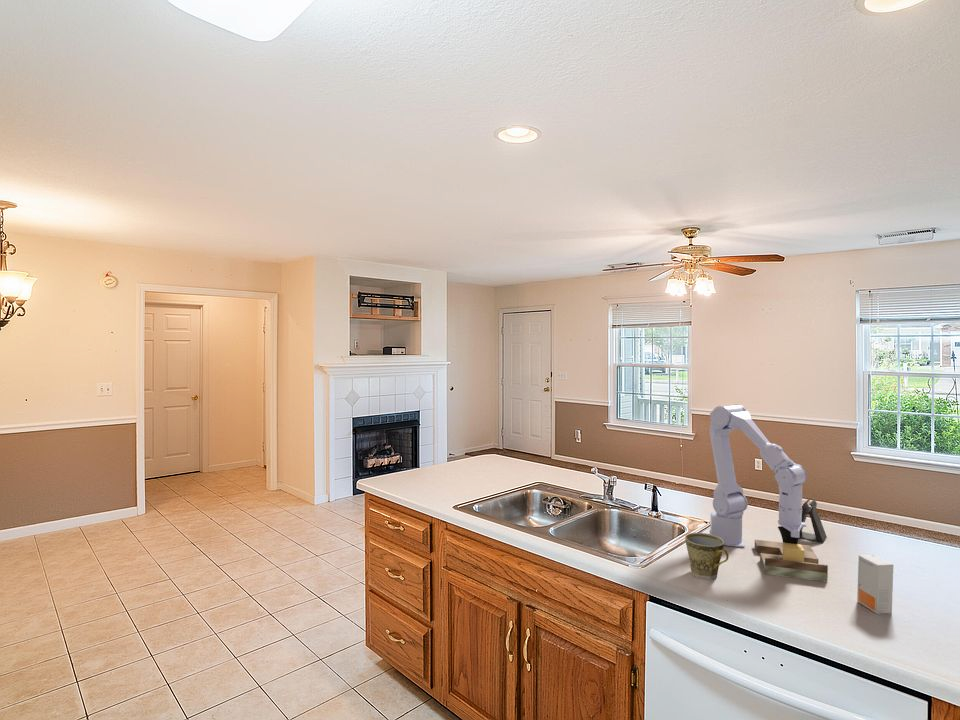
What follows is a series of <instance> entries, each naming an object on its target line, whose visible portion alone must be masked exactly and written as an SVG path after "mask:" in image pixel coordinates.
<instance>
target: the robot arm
mask: <svg viewBox="0 0 960 720" xmlns="http://www.w3.org/2000/svg"><path fill="white" fill-rule="evenodd" d="M709 418H710V425H709V430H708V431H709V438H710V443H711V449H712V455H713V456H712V457H713V460H714V461H713V462H714V468H715V473H716V474H715V475H716V479H717V485H716V487H715V488H714V490H713V491H712V493H713V499H712V508H713V509H714V511H715V512H711V513H710V524H709V526H710V529H709V534H711V535H715V536H717V537H720V538H721V539H723V540H724V546H729V547H737V548H745V546H746V545H745V543H744V540H743V516H744V512H745V511H746V510H747V508H748V505H749V504H748V499H747V497H746V496H745V493H744V489H743V488H742V487H741V486H740V485H739V484H738V483H737V478H736V477H737V476H736V472H735V465H734V461H733V460H734V459H733V454H732V447H731V443H730V437H729V434H731V433H732V431H733V430H740V431H741V432H742V433H743V434H744V435H745V436H746V437H747V438H748V439H749V440H750V441H751V442H752V443H753V444H754V445H755V446H756V447H757V448H758V449H759V456H760V457H761V459H762V460H763V461H764V462H765V463H766V464H767V466H769V468H770V469H771V471H773V473H775V474H774V479H775V481H776V482H777V484H778V490H779V491H778V520H777V523H778V526H777V529H778V531H779V533H780V535H781V538H782V543H791V544H799V540H800V539H801V536H802V532H803V531H802V532H801V530H800V529H801V528H802V527H803V528H806V527H807V523H806V522H805V523H804V522H802V511H803V508H802V506H803V484H804V483H805V482H806V481H807V479H808V475H807V474H808V473H807V471H806V470H805V468H804V466H802V465H801V464H798V463H795V462H794V460H793V459H790V457H789V456H788V455H787V453H785V452H784V450H783V449H784V448H782V446H781V445H778V444H777V443H771V442H770V441H769V439H767V437H766V436H765V435H764V433H763V432H762V431H761V430H760V428H759V427H758V425H757V424H756V423H755V422H754V420H753V419H752V416H751V413H750V412H749V411H748V410H747V409H746V408H745V406H744V405H741V404H738V403H737V404H732V405H718V406H716V407H714V408H713V410H712V411H711V412H710V413H709Z"/></svg>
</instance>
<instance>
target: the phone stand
mask: <svg viewBox="0 0 960 720" xmlns="http://www.w3.org/2000/svg"><path fill="white" fill-rule="evenodd" d="M817 504H818V503H817V501H816V500H815V499H812V500H811V498H809V499H807V500H806V501H805V502H804V503H802V522H804V523H806V520H807V517H808V515H809V518H810V521H811V525H812V528H813V531H814V533H811V532H810V533H809V532H806V531H803V528H804V527H802V528H801V529H800V530H801V532H802V536H801V538H800V539H802V540H807V541H812V542H815V543H819V544H823V543H824V542H825V540H826V539H827V537H828V536H827V533H826V531H825V529H824V526H823V523H822V519H821V518H820V515H819V512H818V510H817Z"/></svg>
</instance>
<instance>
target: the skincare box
mask: <svg viewBox="0 0 960 720" xmlns="http://www.w3.org/2000/svg"><path fill="white" fill-rule="evenodd" d="M857 563H858V568H857V598H856V601H857V603H859V604H861V605H862V606H864V607H865V608H867V609H868V610H870V611H871V612H873V613H874V614H876V615H880V614H881V615H882V614H893V613H892V612H893V591H894V590H893V589H894V564H893V563H891V562H889V561H887V560H885V559H883V558H881V557H879V556H877V555H874V554H861V555H858V562H857Z"/></svg>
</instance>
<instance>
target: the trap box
mask: <svg viewBox="0 0 960 720" xmlns="http://www.w3.org/2000/svg"><path fill="white" fill-rule="evenodd" d="M800 545H801V546H802V548H803V549H804V562H798V561H790V560H783V558H782V553H783V541H781V542H779V541H772V540H771V541H770V540H763V539H754V550H755V552H756V554H759V562H760V564H761V567H762V571H763V572H764V575H772V576H780V577H787V578H795V579H801V580H803V579H804V580H810V581H817V582H825V583H828V578H829V577H828V575H829V573H828V571H829V564H823V563H819V562H820V561H819V558H818V556H817V554H816V553H815V551H814V549H812V546H811V545H806V544H800Z"/></svg>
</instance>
